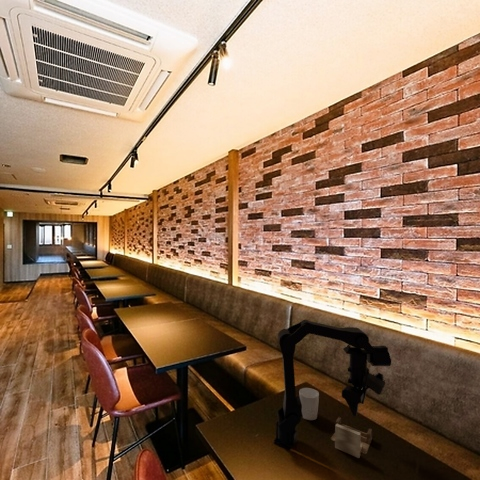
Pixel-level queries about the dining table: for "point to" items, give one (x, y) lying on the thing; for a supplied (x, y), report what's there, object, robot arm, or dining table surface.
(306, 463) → the dining table surface
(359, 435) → the birch sheet
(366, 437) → the rack
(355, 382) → the robot arm
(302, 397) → the white cup
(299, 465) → the dining table surface
